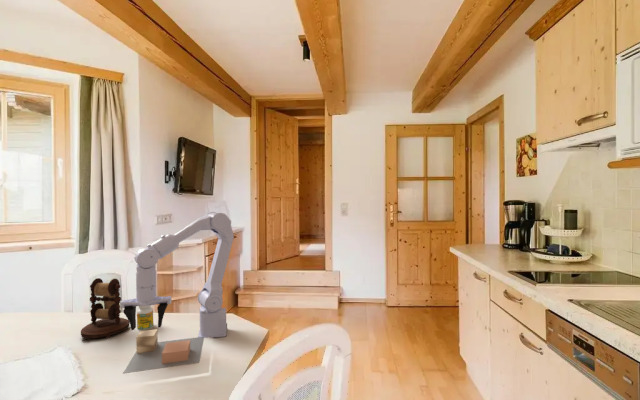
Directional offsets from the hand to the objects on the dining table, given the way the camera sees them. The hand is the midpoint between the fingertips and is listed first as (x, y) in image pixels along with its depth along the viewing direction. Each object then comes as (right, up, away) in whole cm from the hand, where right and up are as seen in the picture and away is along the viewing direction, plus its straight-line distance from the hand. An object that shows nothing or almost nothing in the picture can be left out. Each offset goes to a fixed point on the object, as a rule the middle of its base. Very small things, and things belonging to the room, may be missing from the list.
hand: (146, 327), depth 103 cm
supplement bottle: (-10, -8, +17) cm, 21 cm away
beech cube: (0, -7, 0) cm, 7 cm away
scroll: (-22, -8, +14) cm, 27 cm away
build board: (+8, -8, -3) cm, 11 cm away
